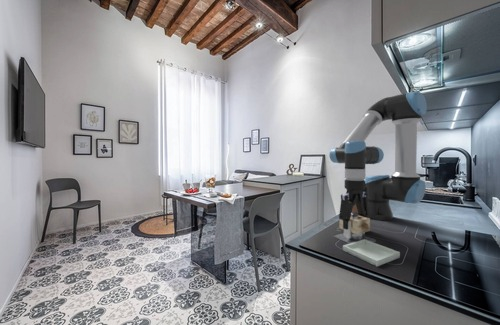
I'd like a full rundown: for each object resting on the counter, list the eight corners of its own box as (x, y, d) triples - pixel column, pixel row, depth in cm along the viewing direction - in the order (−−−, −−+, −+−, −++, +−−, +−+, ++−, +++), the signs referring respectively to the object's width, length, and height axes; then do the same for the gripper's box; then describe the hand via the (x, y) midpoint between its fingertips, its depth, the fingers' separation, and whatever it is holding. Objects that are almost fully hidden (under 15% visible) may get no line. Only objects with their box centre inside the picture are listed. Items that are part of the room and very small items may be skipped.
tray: (364, 243, 81) (364, 239, 81) (399, 257, 70) (399, 252, 70) (342, 250, 75) (342, 245, 75) (377, 266, 64) (377, 260, 64)
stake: (351, 232, 93) (351, 208, 92) (375, 241, 83) (376, 215, 82) (333, 237, 88) (333, 212, 87) (357, 247, 78) (357, 219, 77)
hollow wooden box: (352, 224, 90) (352, 213, 90) (372, 231, 82) (373, 219, 82) (339, 228, 87) (339, 216, 87) (359, 235, 79) (359, 222, 78)
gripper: (362, 177, 93) (361, 227, 93) (329, 179, 83) (328, 236, 84) (379, 178, 86) (378, 233, 87) (345, 181, 76) (344, 243, 77)
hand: (354, 234), depth 85 cm, fingers closed on hollow wooden box, 8 cm apart
